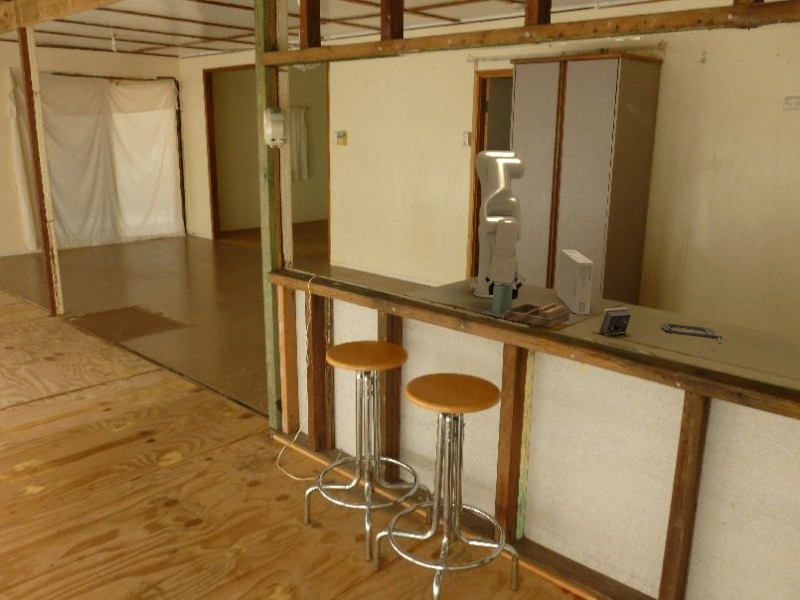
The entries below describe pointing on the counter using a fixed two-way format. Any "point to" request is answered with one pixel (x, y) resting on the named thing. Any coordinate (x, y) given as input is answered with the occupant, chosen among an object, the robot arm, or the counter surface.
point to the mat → (489, 312)
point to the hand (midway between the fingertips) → (502, 297)
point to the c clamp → (708, 332)
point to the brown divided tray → (533, 315)
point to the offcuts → (550, 310)
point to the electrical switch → (614, 320)
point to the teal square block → (502, 298)
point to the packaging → (575, 281)
